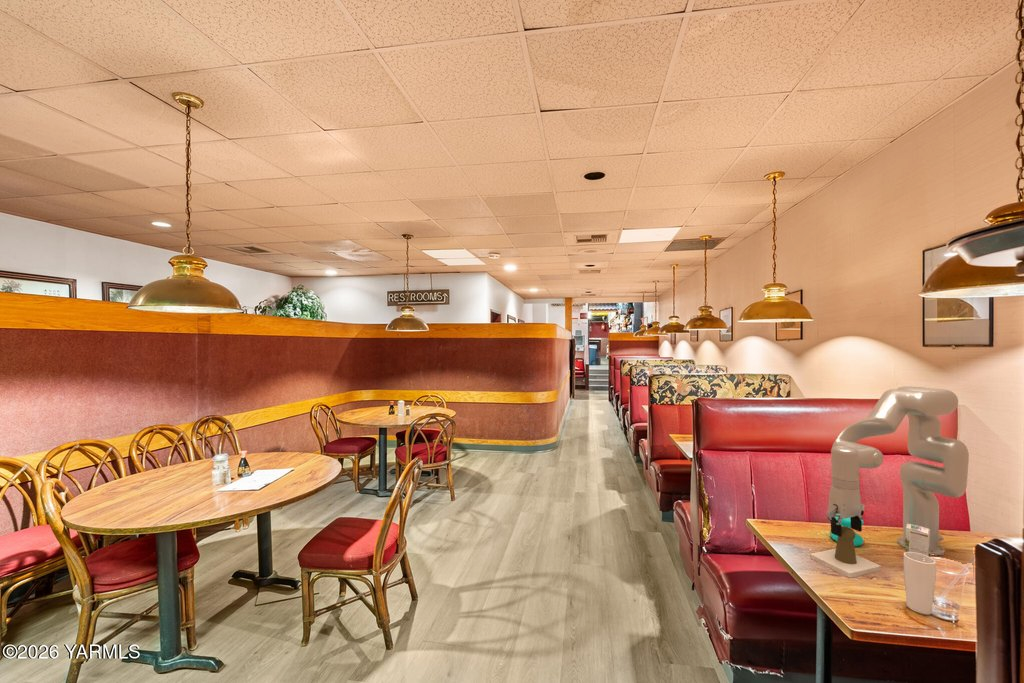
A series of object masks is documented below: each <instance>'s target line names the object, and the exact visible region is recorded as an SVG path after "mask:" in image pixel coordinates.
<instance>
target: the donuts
mask: <svg viewBox="0 0 1024 683" xmlns="http://www.w3.org/2000/svg"><path fill="white" fill-rule="evenodd" d="M837 515H840V514H837ZM835 519H836V520H838V517H835ZM864 524H865V523H864V520H863V519H862V526H864ZM840 525H842V526H845V527H848V528H851V517H850V518H845V519H842V521H841V523H840ZM851 529H852V528H851ZM829 534H830V535H829V536H830V537H831V539H832V540H833V541H835V542H837V540H838V536H837V535H834V534H832V533H831V531H830V533H829ZM853 541H854V547H859V546H860V547H861V546H862V545H864V538H863V536H861V535H860V534H859V533H857V532H855V538H854V539H853Z"/></svg>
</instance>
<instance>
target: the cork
mask: <svg viewBox="0 0 1024 683" xmlns="http://www.w3.org/2000/svg"><path fill="white" fill-rule="evenodd" d="M855 533H856V531H855V530H854V529H852V528H849V527H845V526H842V536H841V537H839V536H838V540H837V541H836V545H835V549H836V551H835V559H837V560H838V561H840V562H843V563H846V564H856V563H857V561H856V555H857V554H856V549H855V548H856V547H855V546H854V541H853V539H854V538H855Z"/></svg>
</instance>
